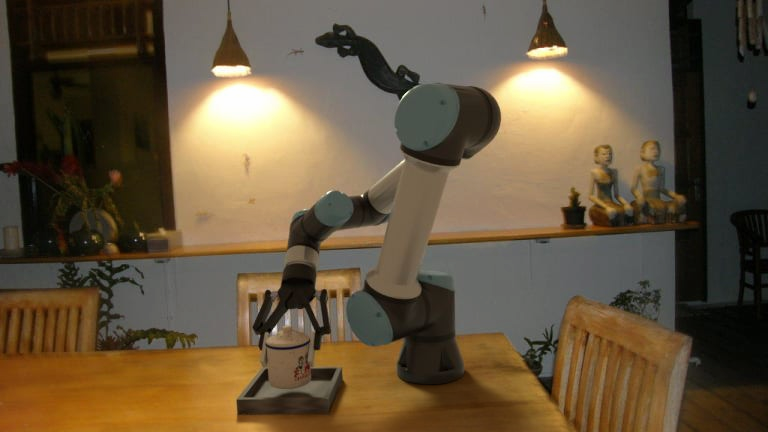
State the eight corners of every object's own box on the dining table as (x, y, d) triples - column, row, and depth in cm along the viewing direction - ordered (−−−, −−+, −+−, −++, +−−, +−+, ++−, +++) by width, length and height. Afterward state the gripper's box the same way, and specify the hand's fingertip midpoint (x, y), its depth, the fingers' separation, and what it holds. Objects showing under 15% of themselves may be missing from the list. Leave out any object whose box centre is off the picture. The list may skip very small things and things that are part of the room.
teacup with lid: (302, 391, 120) (299, 333, 119) (260, 388, 122) (256, 332, 121) (323, 369, 131) (321, 317, 130) (284, 367, 134) (281, 315, 132)
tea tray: (342, 379, 135) (342, 366, 135) (328, 414, 117) (328, 399, 117) (263, 380, 137) (262, 367, 136) (237, 414, 119) (236, 399, 118)
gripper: (350, 279, 139) (342, 372, 125) (257, 280, 141) (239, 372, 127) (345, 260, 134) (337, 355, 119) (248, 262, 135) (229, 356, 121)
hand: (286, 364), depth 123 cm, fingers closed on teacup with lid, 9 cm apart
